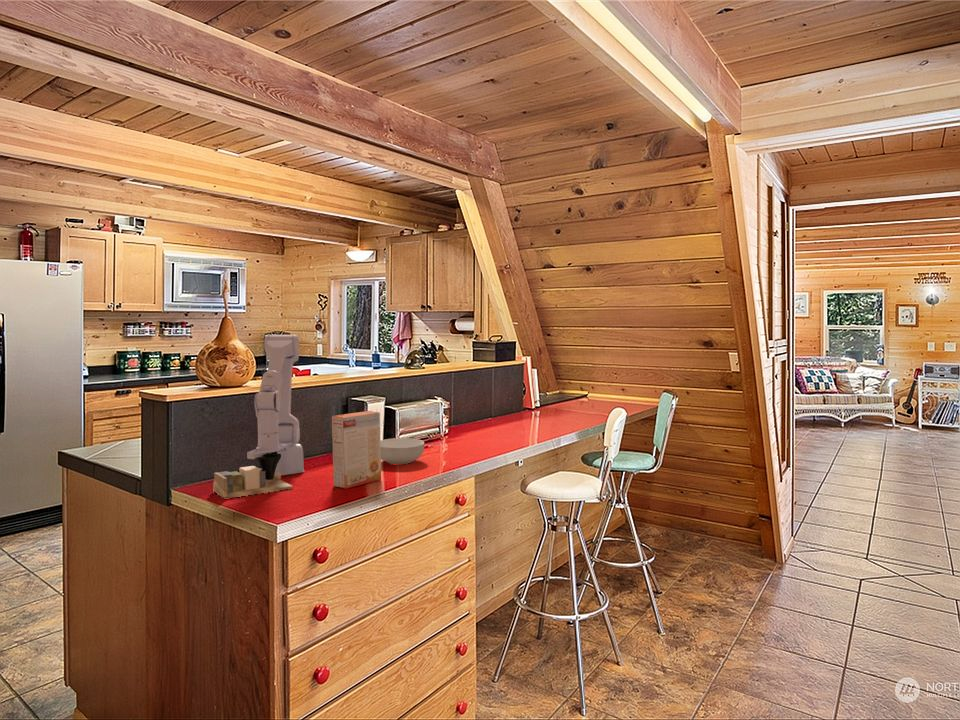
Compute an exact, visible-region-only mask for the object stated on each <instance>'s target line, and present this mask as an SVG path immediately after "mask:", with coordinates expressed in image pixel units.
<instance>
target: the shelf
mask: <svg viewBox="0 0 960 720" xmlns="http://www.w3.org/2000/svg"><path fill="white" fill-rule="evenodd" d="M213 479H214V480H213V482H212V483H213V485H212V486H213V489H212V490H213V492H214V491H215V492H216V493H217V494H218V495H220V496H221V497H223V498H224V499H226V498H233V497H240V498H242V497H241V496H246V497H249V496H248V495H252V496H255V495H254V494H258V495H262V494H261V493H264V494H268V492H270V493H274V491H276V492H281V491H280V490H282V491H286V489H288V490H293V486H294V485H291V484H290V483H288V482H285V481H284V480H282V476H281V473H280V472H277V473H275V474H274V478H273V479H272V480H266V486H264V487H260V488H256V489H250V490H245V489H243V488H242V474H240V472H238V471H237V470H236V471H235V470H234V471H228V470H227V471H220V472H219V471H218V472H213ZM218 495H217V496H218ZM221 497H220V498H221ZM224 499H223V500H224Z"/></svg>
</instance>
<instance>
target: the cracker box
mask: <svg viewBox="0 0 960 720" xmlns="http://www.w3.org/2000/svg"><path fill="white" fill-rule="evenodd" d="M380 415H381V413H380V412H379V411H372V410H367V411H366V410H364V411H360V412H357V411H356V412H352V413H344V414H338V415H337V414H336V415H332V416H331V436H332V439H331V441H332V445H331V446H332V467H333V468H332V472H333V477H332V478H333V487H336V488H341V489H345V490H347V489H350V488H355V487H357V486H362V485H366V484H369V483H373V482H377V481H381V480H382V460H381V447H380V441H381V418H380V417H381V416H380Z"/></svg>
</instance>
